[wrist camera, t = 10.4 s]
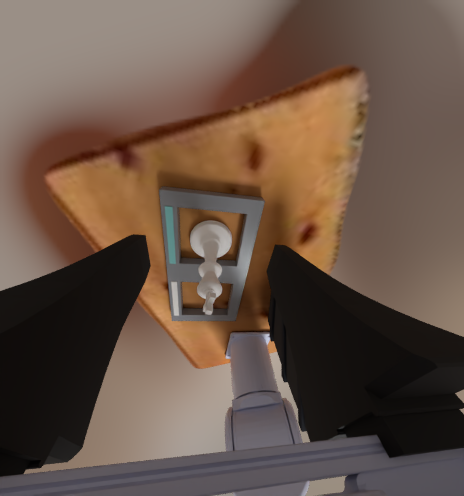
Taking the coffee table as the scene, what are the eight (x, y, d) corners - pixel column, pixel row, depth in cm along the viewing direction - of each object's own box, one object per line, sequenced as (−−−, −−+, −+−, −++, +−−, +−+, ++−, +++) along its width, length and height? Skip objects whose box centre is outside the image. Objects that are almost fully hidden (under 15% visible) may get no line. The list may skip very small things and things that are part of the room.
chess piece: (238, 228, 19) (256, 296, 11) (223, 260, 22) (228, 336, 14) (196, 214, 18) (181, 280, 10) (185, 249, 20) (165, 327, 12)
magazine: (266, 339, 31) (307, 447, 16) (262, 269, 29) (304, 318, 14) (287, 336, 31) (345, 441, 16) (284, 267, 29) (348, 313, 14)
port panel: (234, 314, 28) (235, 321, 27) (173, 314, 27) (171, 321, 26) (262, 197, 18) (265, 201, 17) (162, 186, 16) (158, 189, 15)
